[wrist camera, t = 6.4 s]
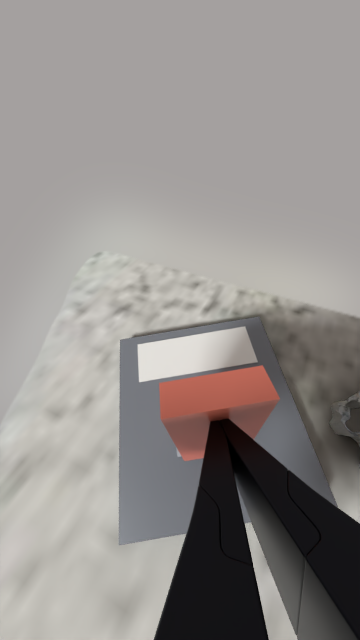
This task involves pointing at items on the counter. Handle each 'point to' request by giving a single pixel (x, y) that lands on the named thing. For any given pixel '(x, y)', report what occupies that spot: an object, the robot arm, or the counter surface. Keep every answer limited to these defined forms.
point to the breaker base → (158, 447)
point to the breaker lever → (215, 406)
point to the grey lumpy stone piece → (345, 416)
